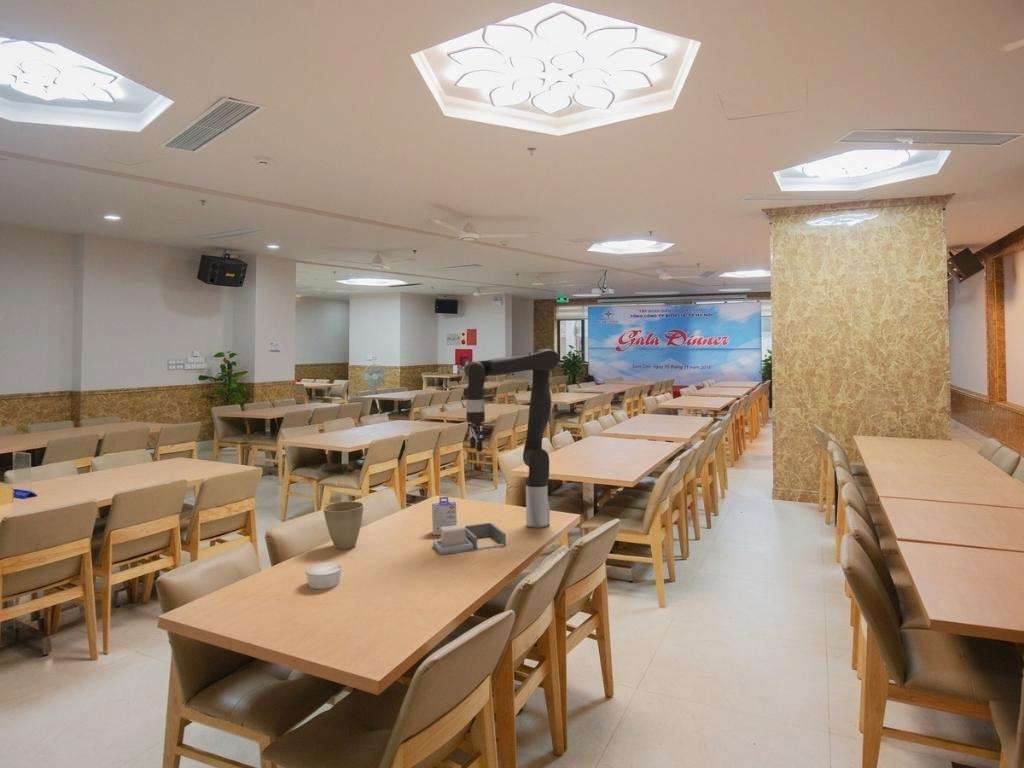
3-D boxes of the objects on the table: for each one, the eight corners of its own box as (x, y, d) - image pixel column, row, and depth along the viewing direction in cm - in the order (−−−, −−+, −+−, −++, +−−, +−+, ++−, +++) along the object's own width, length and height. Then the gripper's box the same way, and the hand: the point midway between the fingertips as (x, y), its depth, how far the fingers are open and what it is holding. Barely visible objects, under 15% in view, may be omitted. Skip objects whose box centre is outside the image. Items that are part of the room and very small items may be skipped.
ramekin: (338, 590, 185) (337, 573, 185) (301, 592, 185) (301, 575, 184) (345, 576, 197) (345, 561, 196) (311, 578, 196) (310, 562, 196)
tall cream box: (461, 542, 227) (461, 524, 227) (465, 546, 222) (464, 528, 222) (440, 545, 224) (440, 527, 224) (444, 549, 219) (443, 530, 219)
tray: (465, 541, 230) (465, 536, 230) (473, 549, 221) (473, 544, 221) (433, 546, 225) (432, 540, 225) (439, 554, 216) (439, 548, 216)
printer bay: (492, 534, 239) (492, 522, 239) (506, 545, 225) (506, 532, 225) (463, 538, 235) (462, 526, 234) (475, 550, 220) (474, 537, 220)
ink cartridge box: (456, 530, 246) (455, 495, 245) (457, 534, 240) (456, 499, 240) (432, 531, 245) (431, 497, 244) (432, 535, 239) (431, 500, 238)
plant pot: (340, 539, 236) (339, 499, 235) (372, 542, 231) (371, 502, 230) (316, 551, 222) (314, 509, 221) (349, 555, 217) (348, 512, 216)
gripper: (489, 411, 235) (490, 451, 236) (478, 408, 249) (479, 446, 250) (472, 412, 233) (472, 453, 234) (461, 409, 246) (462, 447, 247)
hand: (476, 449), depth 242 cm, fingers open, 8 cm apart
